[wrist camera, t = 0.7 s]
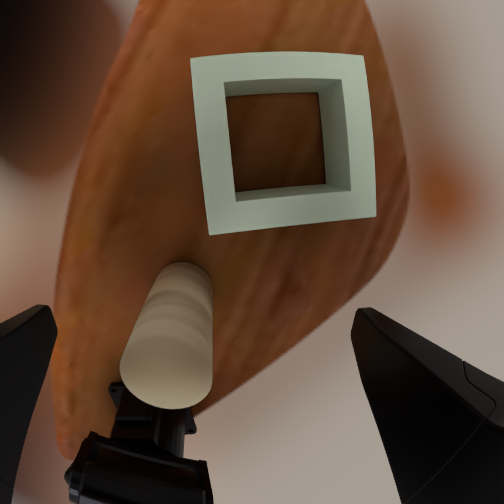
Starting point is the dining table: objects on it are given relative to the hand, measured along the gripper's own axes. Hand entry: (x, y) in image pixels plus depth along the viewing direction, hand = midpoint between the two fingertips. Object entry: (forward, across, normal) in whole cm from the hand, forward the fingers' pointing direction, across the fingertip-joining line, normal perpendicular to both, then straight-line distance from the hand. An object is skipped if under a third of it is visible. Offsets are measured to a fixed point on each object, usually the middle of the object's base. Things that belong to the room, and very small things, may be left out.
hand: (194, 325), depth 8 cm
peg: (+11, +2, +6) cm, 13 cm away
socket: (+13, -4, -4) cm, 14 cm away
